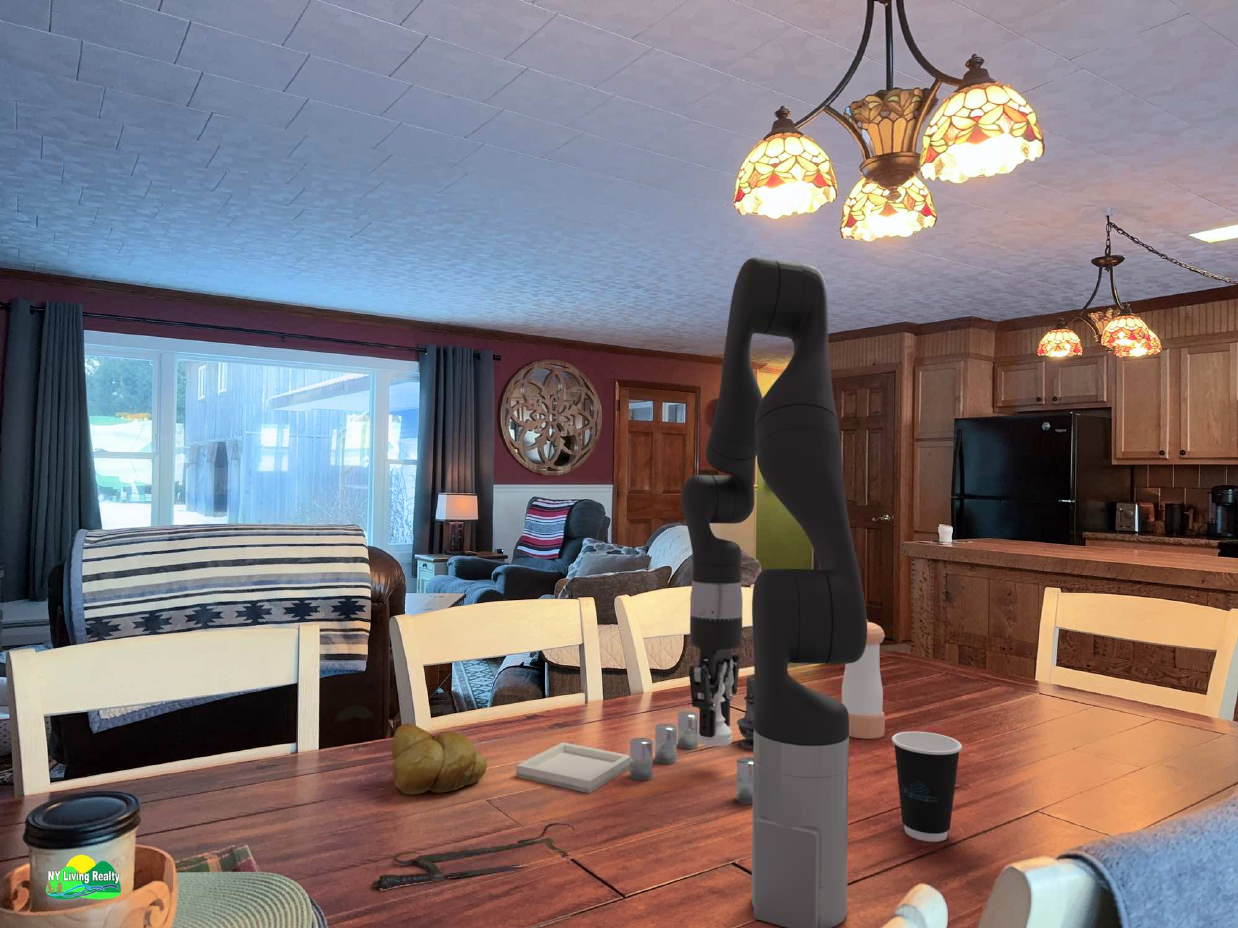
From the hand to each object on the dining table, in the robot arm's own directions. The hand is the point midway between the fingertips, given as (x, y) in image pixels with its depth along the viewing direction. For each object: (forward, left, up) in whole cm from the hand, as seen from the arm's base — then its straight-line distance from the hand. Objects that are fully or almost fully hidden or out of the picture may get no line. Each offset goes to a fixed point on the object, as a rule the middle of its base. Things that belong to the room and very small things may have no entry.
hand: (714, 730), depth 121 cm
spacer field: (0, 0, -6) cm, 6 cm away
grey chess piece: (+14, -1, -6) cm, 16 cm away
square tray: (-11, +17, -6) cm, 21 cm away
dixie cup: (-7, -30, -6) cm, 31 cm away
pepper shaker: (+30, -14, -6) cm, 34 cm away
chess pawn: (0, 0, -2) cm, 2 cm away
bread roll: (-25, +30, -6) cm, 39 cm away
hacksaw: (-38, +12, -6) cm, 41 cm away
